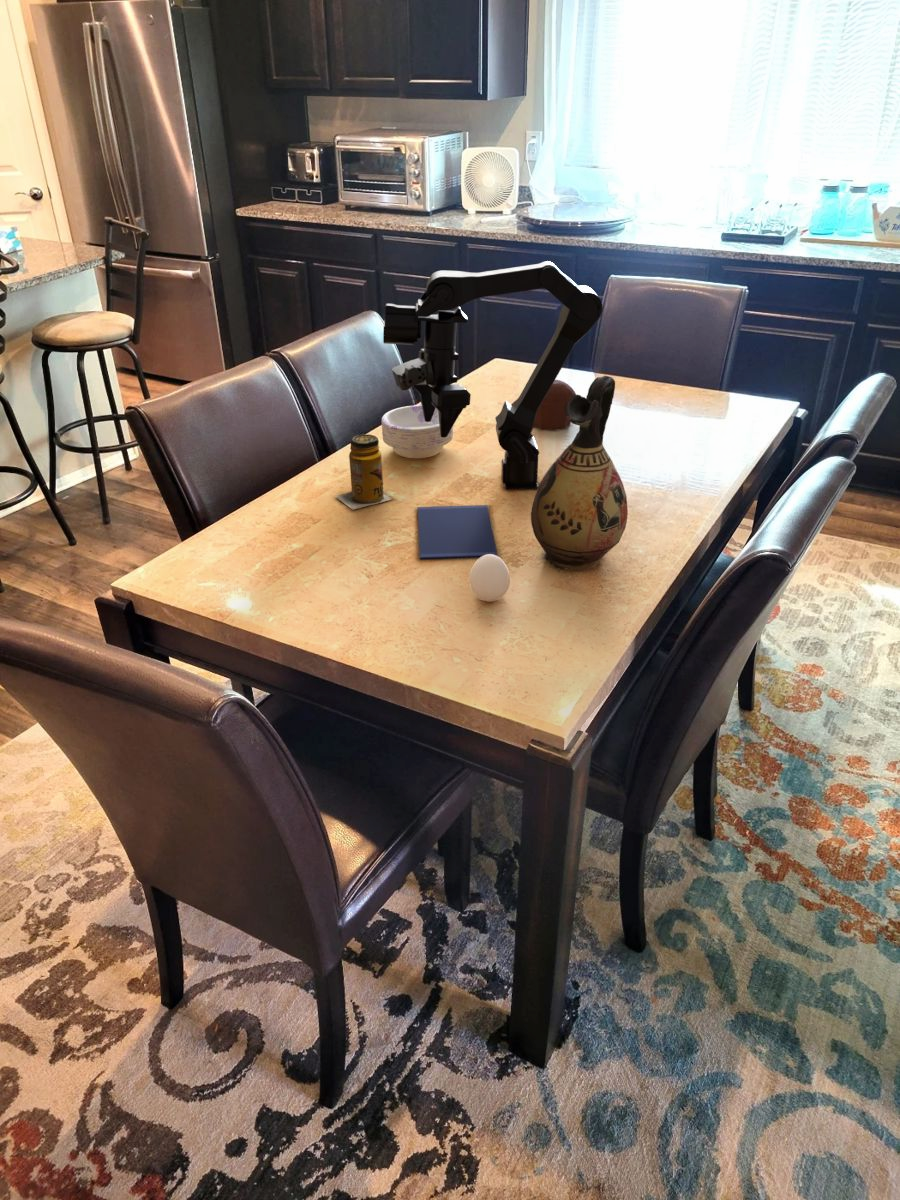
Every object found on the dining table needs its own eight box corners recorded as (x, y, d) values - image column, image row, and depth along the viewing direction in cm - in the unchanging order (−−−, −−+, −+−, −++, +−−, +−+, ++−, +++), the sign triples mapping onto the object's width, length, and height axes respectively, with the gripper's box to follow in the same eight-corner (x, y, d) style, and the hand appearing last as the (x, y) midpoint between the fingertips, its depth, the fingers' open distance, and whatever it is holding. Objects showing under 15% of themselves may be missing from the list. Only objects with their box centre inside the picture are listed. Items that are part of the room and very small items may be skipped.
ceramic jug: (600, 590, 133) (617, 402, 117) (513, 565, 140) (518, 386, 124) (640, 546, 145) (660, 372, 129) (558, 526, 152) (568, 358, 137)
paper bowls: (371, 458, 181) (368, 422, 177) (401, 435, 193) (399, 401, 189) (437, 468, 176) (436, 431, 172) (463, 443, 188) (463, 408, 184)
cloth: (487, 506, 159) (487, 504, 159) (497, 557, 142) (497, 555, 142) (417, 509, 159) (417, 507, 159) (419, 559, 142) (419, 557, 142)
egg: (474, 611, 128) (474, 567, 124) (465, 591, 133) (465, 548, 129) (513, 607, 129) (515, 563, 125) (503, 587, 134) (504, 544, 130)
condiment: (392, 499, 163) (389, 440, 156) (352, 510, 159) (348, 449, 152) (373, 487, 168) (370, 429, 162) (335, 497, 164) (330, 438, 158)
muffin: (583, 421, 199) (586, 379, 194) (562, 435, 191) (565, 392, 186) (538, 413, 205) (540, 371, 200) (516, 426, 197) (517, 383, 192)
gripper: (382, 335, 159) (381, 416, 167) (413, 360, 144) (410, 448, 152) (438, 333, 163) (434, 413, 170) (474, 358, 148) (468, 444, 155)
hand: (435, 429), depth 162 cm, fingers open, 9 cm apart
